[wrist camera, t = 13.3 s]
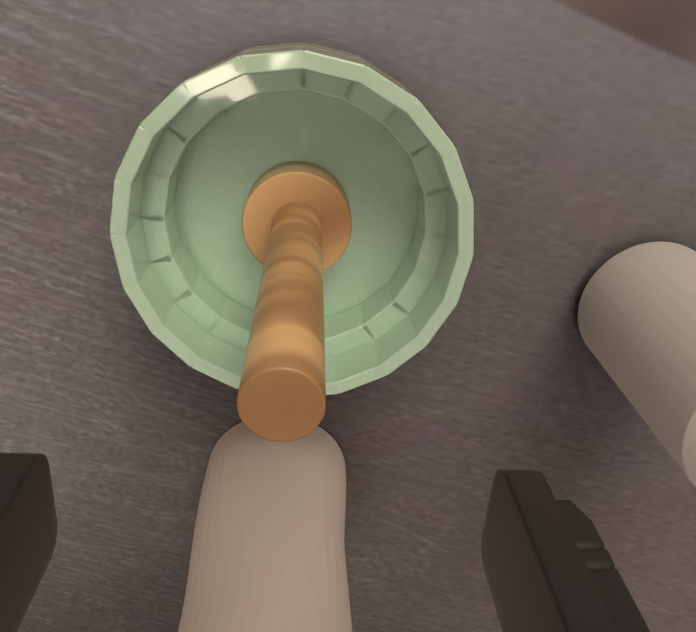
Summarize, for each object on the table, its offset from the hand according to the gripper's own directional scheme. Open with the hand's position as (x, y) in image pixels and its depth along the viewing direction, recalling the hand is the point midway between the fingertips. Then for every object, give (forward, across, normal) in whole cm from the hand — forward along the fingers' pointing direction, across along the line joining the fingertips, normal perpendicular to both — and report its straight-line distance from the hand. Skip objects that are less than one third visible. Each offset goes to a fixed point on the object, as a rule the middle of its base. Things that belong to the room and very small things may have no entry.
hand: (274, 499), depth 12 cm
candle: (+19, +1, +18) cm, 26 cm away
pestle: (+18, 0, 0) cm, 18 cm away
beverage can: (+19, -16, +4) cm, 25 cm away
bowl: (+19, 0, 0) cm, 19 cm away
